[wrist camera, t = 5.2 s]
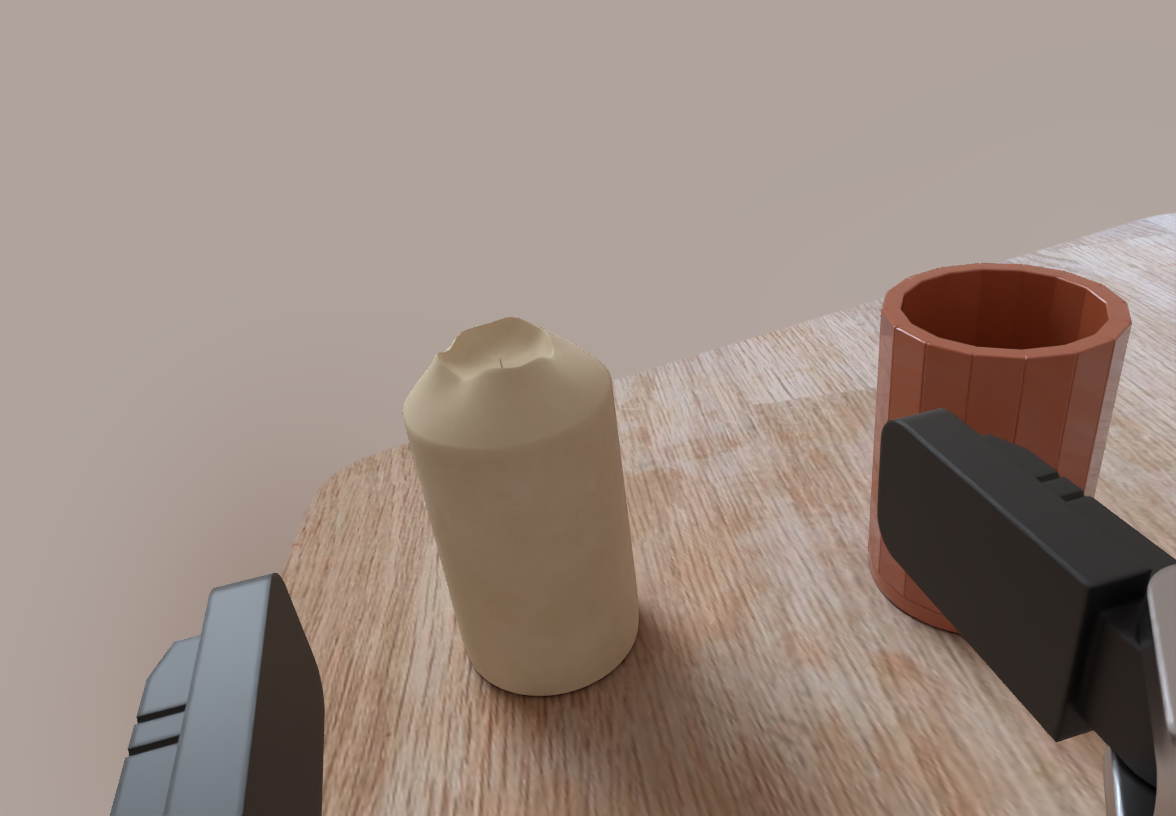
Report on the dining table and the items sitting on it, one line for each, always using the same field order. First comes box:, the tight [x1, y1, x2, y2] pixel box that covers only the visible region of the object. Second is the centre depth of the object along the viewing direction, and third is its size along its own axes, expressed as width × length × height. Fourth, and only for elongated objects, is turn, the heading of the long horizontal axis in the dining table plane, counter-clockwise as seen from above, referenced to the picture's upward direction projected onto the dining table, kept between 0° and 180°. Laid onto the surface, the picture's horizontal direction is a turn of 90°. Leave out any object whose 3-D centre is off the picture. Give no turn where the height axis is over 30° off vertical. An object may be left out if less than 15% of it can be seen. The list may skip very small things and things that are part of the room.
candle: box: [403, 317, 639, 696], centre depth 24 cm, size 6×6×10 cm
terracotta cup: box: [868, 263, 1132, 634], centre depth 25 cm, size 6×6×9 cm
